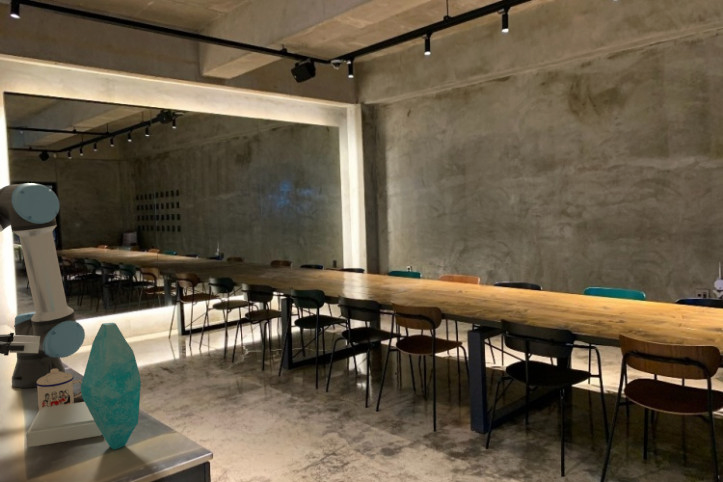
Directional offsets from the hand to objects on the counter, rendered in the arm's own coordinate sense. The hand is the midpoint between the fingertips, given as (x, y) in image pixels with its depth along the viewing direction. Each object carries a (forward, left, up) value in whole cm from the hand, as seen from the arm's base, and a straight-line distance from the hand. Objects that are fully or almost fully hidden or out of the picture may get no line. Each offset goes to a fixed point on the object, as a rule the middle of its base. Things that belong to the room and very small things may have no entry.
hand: (39, 344), depth 146 cm
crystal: (+35, +21, -19) cm, 45 cm away
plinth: (+18, +9, -19) cm, 28 cm away
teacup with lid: (+2, +5, -19) cm, 20 cm away
